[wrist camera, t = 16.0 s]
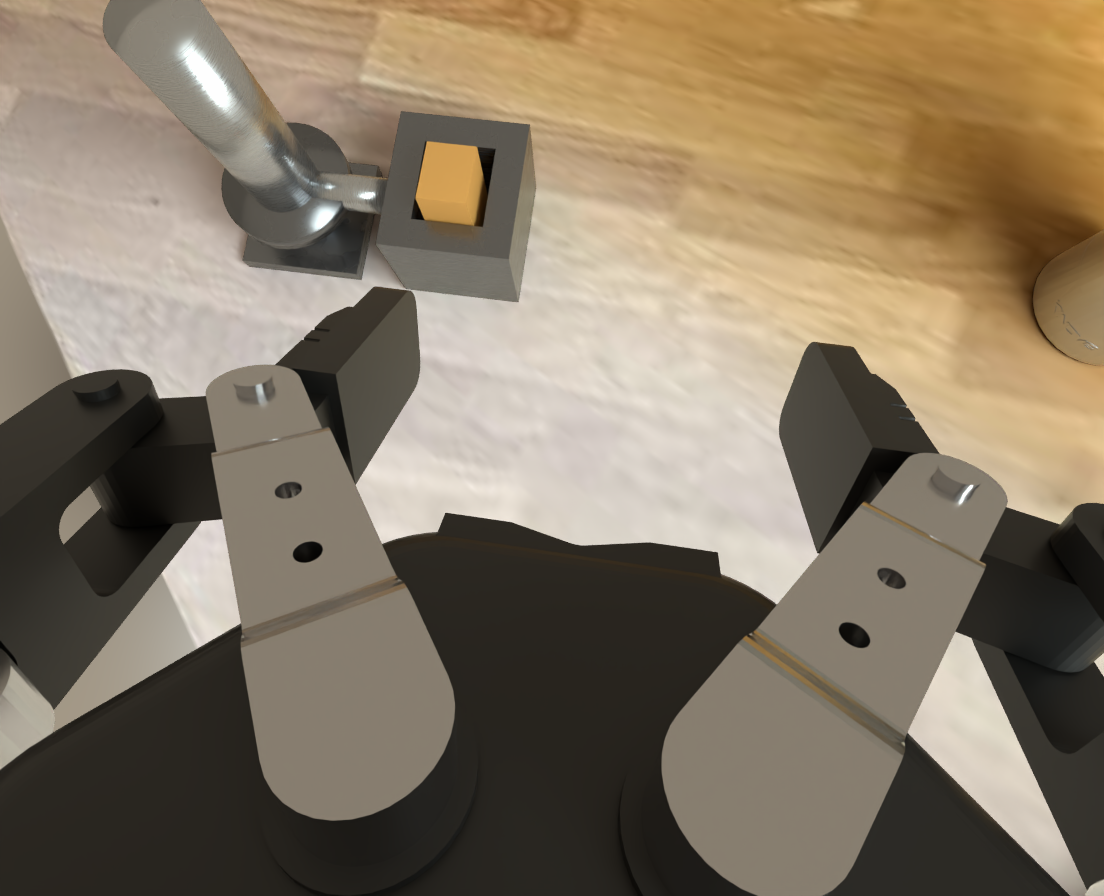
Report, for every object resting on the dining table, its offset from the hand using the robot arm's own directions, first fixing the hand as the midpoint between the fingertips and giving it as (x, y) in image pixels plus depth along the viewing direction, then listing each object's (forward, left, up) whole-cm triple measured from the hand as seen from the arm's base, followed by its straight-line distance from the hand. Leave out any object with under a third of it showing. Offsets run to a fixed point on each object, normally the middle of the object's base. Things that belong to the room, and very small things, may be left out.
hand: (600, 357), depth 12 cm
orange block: (-3, -20, -29) cm, 35 cm away
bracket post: (+2, -25, -30) cm, 39 cm away
